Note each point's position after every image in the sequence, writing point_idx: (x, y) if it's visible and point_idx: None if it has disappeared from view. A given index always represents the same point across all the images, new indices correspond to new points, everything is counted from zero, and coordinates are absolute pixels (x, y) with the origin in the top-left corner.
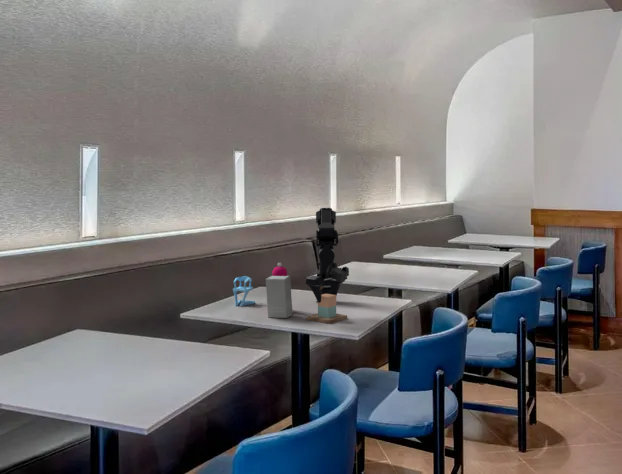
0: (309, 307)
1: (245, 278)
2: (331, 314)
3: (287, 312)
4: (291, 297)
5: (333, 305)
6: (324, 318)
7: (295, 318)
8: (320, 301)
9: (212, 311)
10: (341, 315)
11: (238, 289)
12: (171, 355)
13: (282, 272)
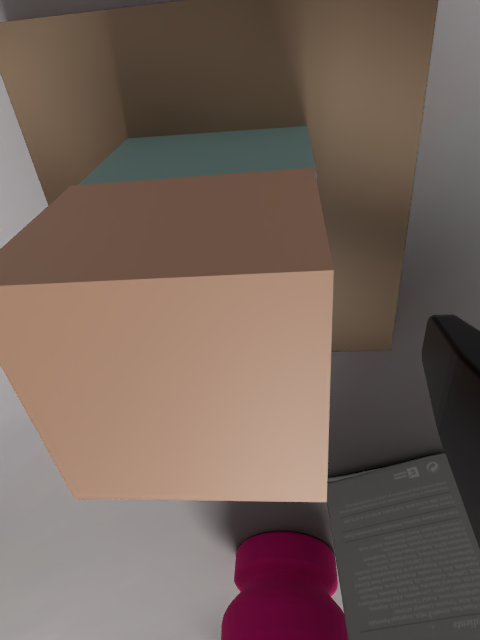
0: (72, 511)
1: None
2: (228, 139)
3: (445, 494)
4: (351, 637)
5: (153, 183)
6: (355, 147)
7: (399, 414)
8: (453, 321)
9: None
10: (61, 89)
11: None
12: None
13: None
